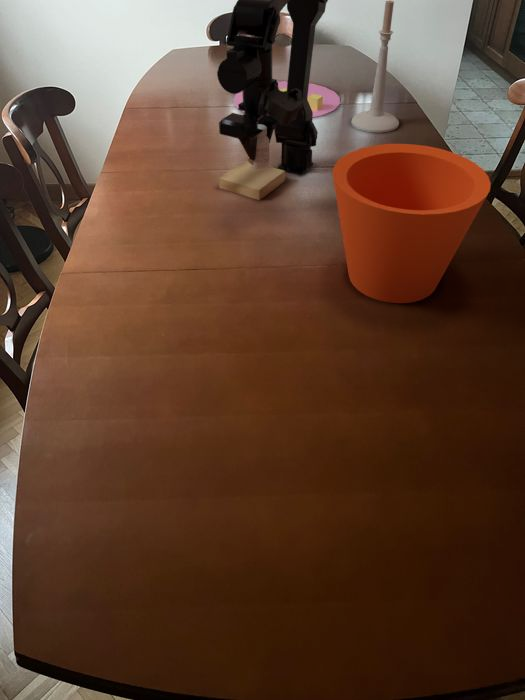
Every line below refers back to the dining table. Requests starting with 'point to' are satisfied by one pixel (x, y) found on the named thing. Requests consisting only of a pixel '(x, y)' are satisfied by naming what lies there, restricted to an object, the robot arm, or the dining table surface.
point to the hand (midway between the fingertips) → (258, 155)
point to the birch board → (251, 180)
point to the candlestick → (379, 87)
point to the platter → (309, 98)
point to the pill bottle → (261, 150)
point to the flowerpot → (404, 216)
